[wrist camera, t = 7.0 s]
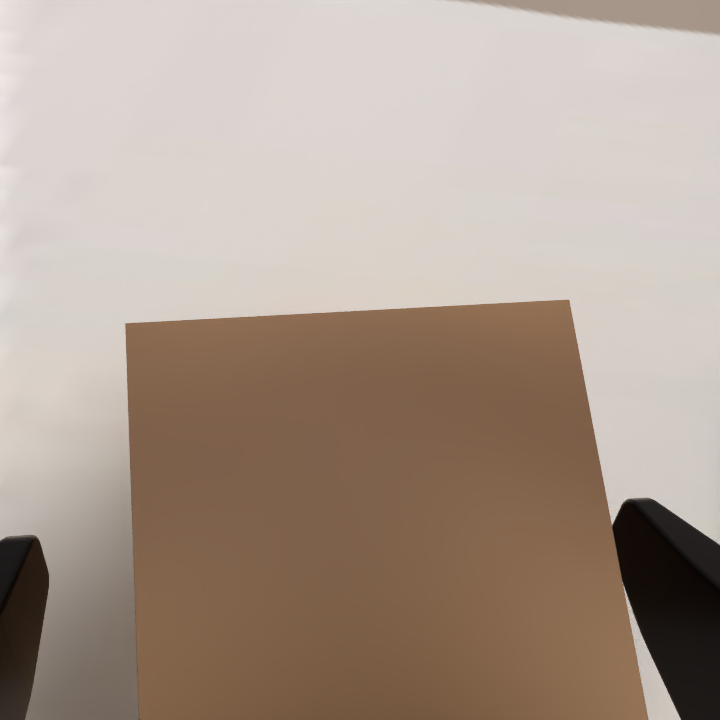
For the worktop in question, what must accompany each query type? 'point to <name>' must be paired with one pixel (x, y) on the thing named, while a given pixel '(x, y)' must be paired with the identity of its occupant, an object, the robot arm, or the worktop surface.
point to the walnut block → (373, 520)
